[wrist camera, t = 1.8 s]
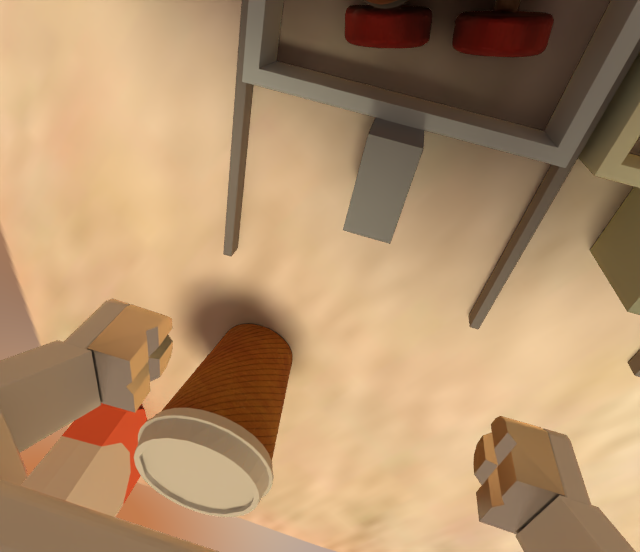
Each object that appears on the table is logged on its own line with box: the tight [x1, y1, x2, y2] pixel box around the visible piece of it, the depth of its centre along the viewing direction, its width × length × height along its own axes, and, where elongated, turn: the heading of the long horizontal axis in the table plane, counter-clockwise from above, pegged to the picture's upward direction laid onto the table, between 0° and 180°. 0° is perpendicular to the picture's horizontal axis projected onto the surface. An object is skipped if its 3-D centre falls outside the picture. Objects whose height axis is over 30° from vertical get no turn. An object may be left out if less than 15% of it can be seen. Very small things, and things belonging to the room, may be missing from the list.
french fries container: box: [21, 403, 147, 517], centre depth 40 cm, size 5×11×18 cm, turn 175°
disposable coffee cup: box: [134, 324, 292, 517], centre depth 32 cm, size 10×10×12 cm
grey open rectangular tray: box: [242, 0, 640, 244], centre depth 19 cm, size 17×18×6 cm
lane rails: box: [224, 0, 640, 377], centre depth 22 cm, size 30×26×1 cm
